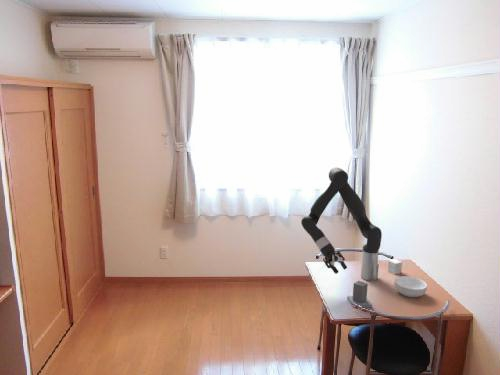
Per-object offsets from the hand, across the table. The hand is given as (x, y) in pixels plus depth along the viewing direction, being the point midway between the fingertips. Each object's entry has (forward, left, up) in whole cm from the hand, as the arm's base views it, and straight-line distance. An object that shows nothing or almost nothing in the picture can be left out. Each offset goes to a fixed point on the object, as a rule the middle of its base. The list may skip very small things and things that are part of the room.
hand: (341, 270), depth 221 cm
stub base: (-7, +12, -13) cm, 19 cm away
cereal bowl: (-39, +3, -13) cm, 41 cm away
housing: (-7, +12, -12) cm, 18 cm away
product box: (-44, -28, -13) cm, 54 cm away
